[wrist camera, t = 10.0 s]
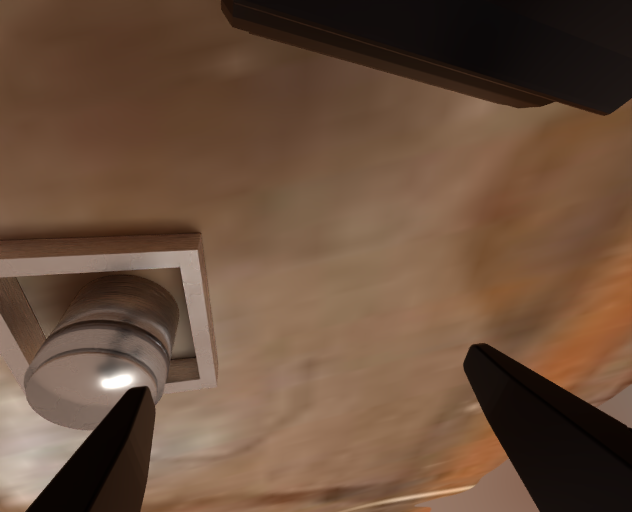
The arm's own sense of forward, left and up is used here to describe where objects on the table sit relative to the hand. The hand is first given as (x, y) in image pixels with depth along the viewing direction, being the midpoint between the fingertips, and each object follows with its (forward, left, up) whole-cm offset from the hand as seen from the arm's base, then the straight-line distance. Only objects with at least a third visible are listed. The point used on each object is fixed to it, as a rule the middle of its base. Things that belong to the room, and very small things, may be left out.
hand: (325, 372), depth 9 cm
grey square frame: (+10, +7, -12) cm, 17 cm away
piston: (+9, +7, -12) cm, 17 cm away
